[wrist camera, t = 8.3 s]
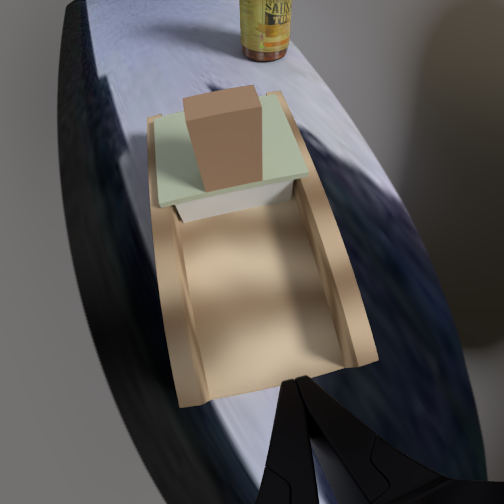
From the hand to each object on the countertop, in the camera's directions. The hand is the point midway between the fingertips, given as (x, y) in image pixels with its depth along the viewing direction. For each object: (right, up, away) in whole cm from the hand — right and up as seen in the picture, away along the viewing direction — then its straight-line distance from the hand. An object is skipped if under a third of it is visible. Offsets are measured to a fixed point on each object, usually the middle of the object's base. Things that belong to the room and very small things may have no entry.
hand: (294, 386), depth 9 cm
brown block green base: (-4, +13, +14) cm, 19 cm away
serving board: (-2, +5, +16) cm, 17 cm away
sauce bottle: (0, +31, +26) cm, 41 cm away
